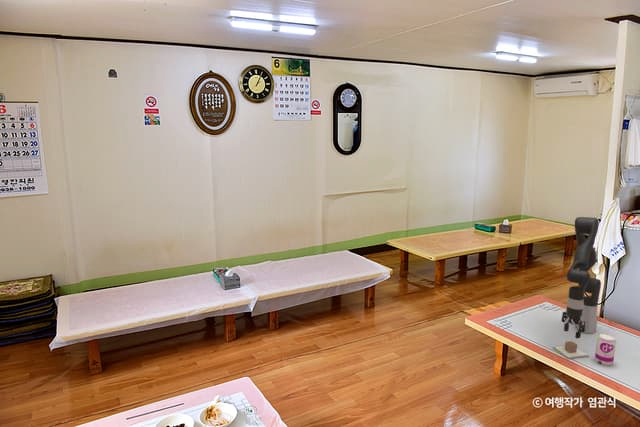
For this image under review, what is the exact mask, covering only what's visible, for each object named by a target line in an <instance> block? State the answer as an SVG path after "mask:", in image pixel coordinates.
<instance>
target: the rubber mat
mask: <svg viewBox="0 0 640 427" xmlns="http://www.w3.org/2000/svg"><path fill="white" fill-rule="evenodd" d="M554 347H555V346H553V347H551V349H552V350H554V351H556V352H557V353H558V354H560V355H561V356H562V357H564V358H566V359H567V360H575V359H584V358H585V359H586V358H590V356H589V355H588V354H586V355H587V356H585V357H576V358H567V357H566V356H564V355H563V354H562V353H560V352H559V351H557V350H556V349H555V348H554Z"/></svg>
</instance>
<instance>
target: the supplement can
mask: <svg viewBox="0 0 640 427" xmlns="http://www.w3.org/2000/svg"><path fill="white" fill-rule="evenodd" d="M615 337H616V336H615ZM615 337H614V336H613V335H611V334H608V333H599V335H598V336H597V337H596V344H595V346H596V347H595V352H594V362H595V363H597V364H599V365H602V366H606V367H611V366H613V365H614V360H615V359H614V358H615V353H616V344H617V340H616V338H615Z"/></svg>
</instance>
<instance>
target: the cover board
mask: <svg viewBox="0 0 640 427" xmlns="http://www.w3.org/2000/svg"><path fill="white" fill-rule="evenodd" d="M553 347H554V348H555V349H556V350H557V351H559V352H560V353H562V354H563V355H564V356H566V357H567V358H576V357H585V356H587V355H588V354H587V353H585V352H583V351H582V350H580V349H578V344H577V343H575V342H574V341H572V340H569V341H565V343H564V345H561V346H560V345H559V346H553ZM557 351H556V352H557ZM560 353H559V354H560ZM564 356H563V357H564ZM567 358H566V359H567Z"/></svg>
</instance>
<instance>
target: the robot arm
mask: <svg viewBox="0 0 640 427" xmlns="http://www.w3.org/2000/svg"><path fill="white" fill-rule="evenodd" d="M599 225H600V224H599V220H598V218H597V217H590V216H587V217H586V216H579V217H576V218H575V220H574V232H575V238H576V246H577V248H576V250H575V251H574V255H573V260H572V264H571V266H570V268H569V269H568V271H567V273H566V280H567V281H568V282H569V283H572V284H573V283H574V284H578V285H573V286H570V287H569V289H568V297H567V300H566V301H567V303H566V310H565V311H562V315H561V322H562V323H563V325H564V326H563V331H564V332H569V331H570V330H569V328H570V325H572V326H573V328H574V329H575V335H574V336H575V338H576V339H580V338H581V335H582V334H581V333H583V334H594V333H595V332H597V328H598V327H597V326H598V325H597V324H598V316H597V313H598V306H599V300H600V299H599V298H600V293H601V287H602V282H601V280H600V279H598V278H594V277H591V274H590V272H589V271H590V270H591V269H592V268H593V267H594V266H595V265H596V263H597V251H596V249H595V247H594V244H595V240H596V238H597V234H598V230H599ZM585 234H586V235H588V236H587V238H586V236H585ZM585 293H588V294H591V295H586V296H585Z"/></svg>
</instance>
